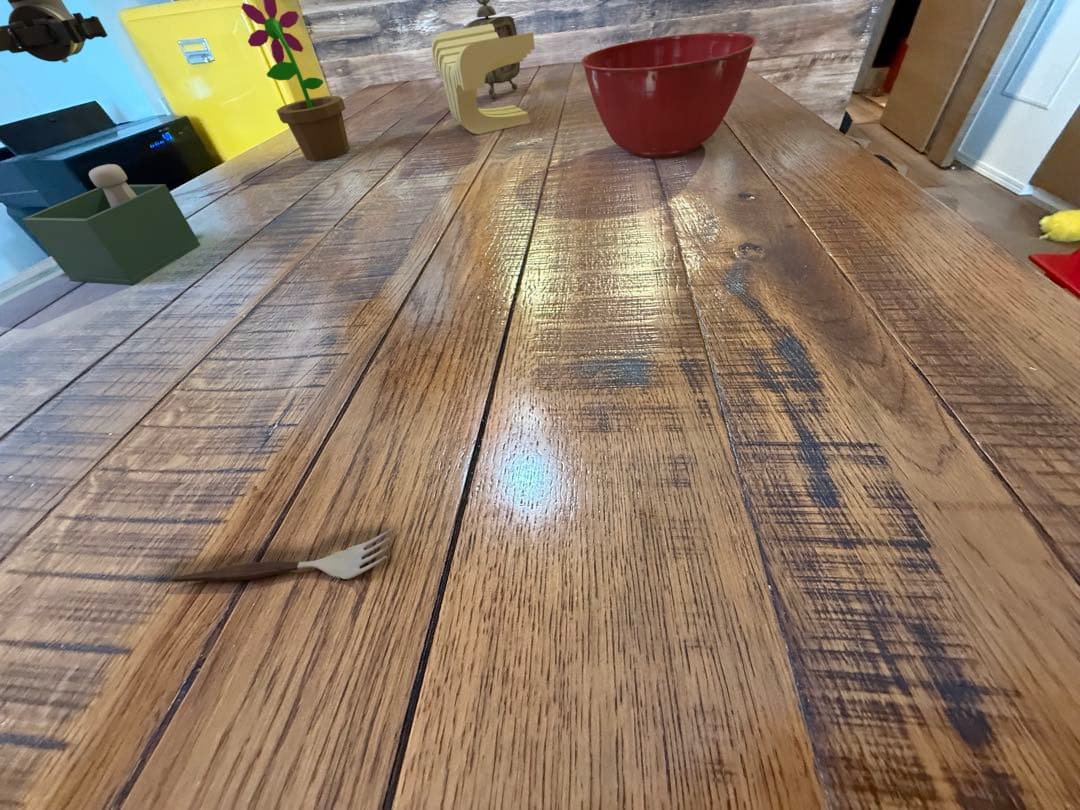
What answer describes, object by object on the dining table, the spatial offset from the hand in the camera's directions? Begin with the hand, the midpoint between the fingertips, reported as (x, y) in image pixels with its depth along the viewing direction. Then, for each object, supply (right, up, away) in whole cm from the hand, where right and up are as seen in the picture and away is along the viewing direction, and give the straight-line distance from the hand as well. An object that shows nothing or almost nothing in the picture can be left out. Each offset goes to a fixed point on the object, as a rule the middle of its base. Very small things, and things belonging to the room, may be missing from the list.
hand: (15, 40), depth 72 cm
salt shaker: (+12, -27, +11) cm, 31 cm away
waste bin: (+9, -28, +10) cm, 32 cm away
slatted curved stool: (+62, +16, +51) cm, 82 cm away
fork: (+56, -63, -36) cm, 92 cm away
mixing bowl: (+97, -3, +24) cm, 100 cm away
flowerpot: (+24, +7, +48) cm, 54 cm away
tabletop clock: (+62, +38, +75) cm, 104 cm away
